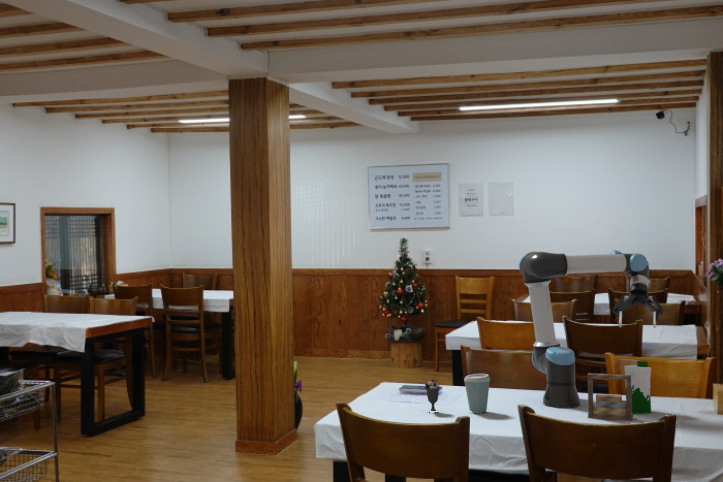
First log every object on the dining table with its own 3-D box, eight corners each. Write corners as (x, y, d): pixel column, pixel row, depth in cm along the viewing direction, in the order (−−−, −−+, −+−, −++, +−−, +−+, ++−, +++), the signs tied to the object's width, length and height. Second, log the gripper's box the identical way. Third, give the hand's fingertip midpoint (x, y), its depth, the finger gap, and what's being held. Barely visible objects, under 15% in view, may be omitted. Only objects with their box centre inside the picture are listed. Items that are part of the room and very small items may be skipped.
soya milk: (654, 413, 301) (653, 362, 301) (632, 414, 300) (631, 363, 301) (644, 408, 310) (643, 359, 310) (622, 409, 309) (621, 360, 309)
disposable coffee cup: (474, 415, 303) (474, 377, 304) (459, 411, 313) (458, 374, 313) (496, 412, 308) (495, 375, 309) (480, 408, 318) (479, 372, 318)
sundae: (442, 410, 314) (442, 374, 315) (439, 414, 308) (438, 376, 308) (427, 410, 316) (426, 373, 317) (423, 413, 310) (422, 376, 310)
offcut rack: (588, 417, 296) (587, 374, 296) (590, 414, 301) (589, 372, 302) (631, 420, 289) (630, 376, 289) (633, 417, 295) (632, 374, 295)
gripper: (670, 293, 333) (669, 331, 319) (610, 293, 343) (607, 330, 329) (669, 282, 328) (668, 320, 314) (608, 282, 338) (605, 319, 324)
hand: (637, 325), depth 321 cm, fingers open, 13 cm apart
